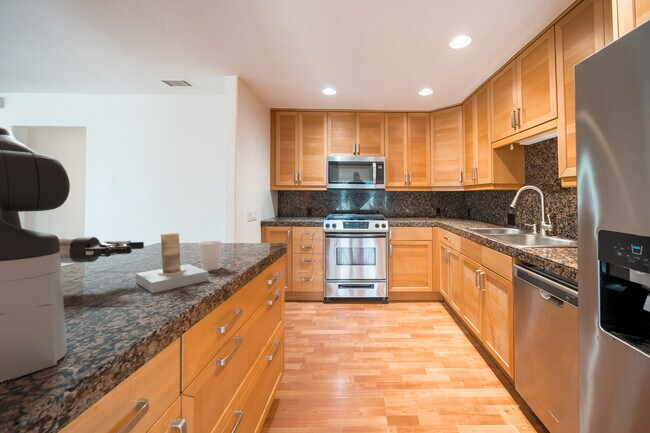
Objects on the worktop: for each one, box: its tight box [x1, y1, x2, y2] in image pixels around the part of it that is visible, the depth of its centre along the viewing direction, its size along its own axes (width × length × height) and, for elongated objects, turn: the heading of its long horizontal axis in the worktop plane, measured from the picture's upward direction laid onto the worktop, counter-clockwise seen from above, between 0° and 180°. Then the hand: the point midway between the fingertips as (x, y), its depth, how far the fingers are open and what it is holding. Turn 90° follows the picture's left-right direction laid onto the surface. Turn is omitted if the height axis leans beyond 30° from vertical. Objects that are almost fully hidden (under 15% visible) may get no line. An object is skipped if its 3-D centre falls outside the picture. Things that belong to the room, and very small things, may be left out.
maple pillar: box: [160, 232, 181, 273], centre depth 87 cm, size 5×5×12 cm
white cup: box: [198, 240, 222, 272], centre depth 104 cm, size 8×8×10 cm
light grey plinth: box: [135, 263, 210, 294], centre depth 88 cm, size 16×16×3 cm
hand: (137, 247), depth 85 cm, fingers open, 8 cm apart
